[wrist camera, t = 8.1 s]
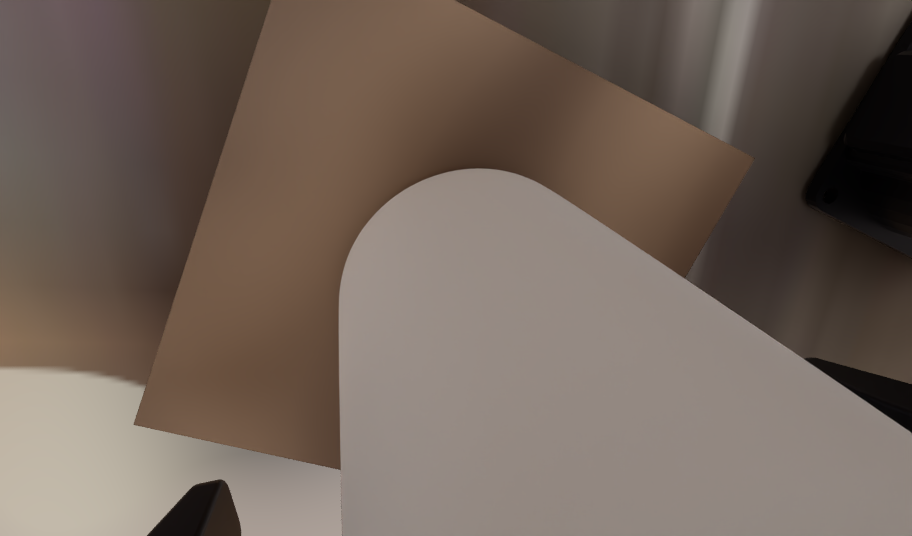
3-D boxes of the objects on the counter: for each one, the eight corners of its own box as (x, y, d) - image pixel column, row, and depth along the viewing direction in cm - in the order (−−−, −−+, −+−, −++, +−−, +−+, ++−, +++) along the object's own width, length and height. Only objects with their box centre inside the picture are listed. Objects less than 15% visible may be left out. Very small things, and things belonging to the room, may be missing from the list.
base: (708, 145, 17) (754, 158, 15) (526, 470, 20) (546, 514, 18) (303, -65, 13) (297, -83, 11) (156, 380, 16) (133, 424, 14)
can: (551, 407, 16) (995, 1148, 5) (320, 390, 15) (284, 1412, 4) (619, 188, 14) (1566, 666, 3) (360, 139, 13) (535, 774, 2)
